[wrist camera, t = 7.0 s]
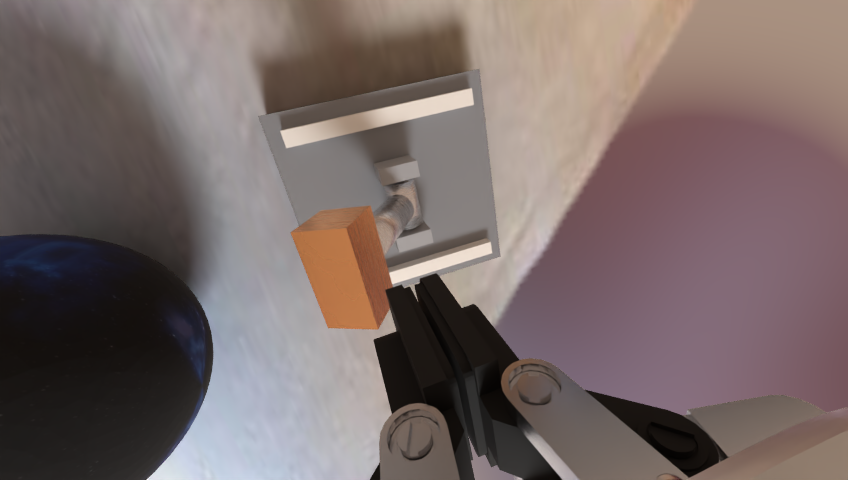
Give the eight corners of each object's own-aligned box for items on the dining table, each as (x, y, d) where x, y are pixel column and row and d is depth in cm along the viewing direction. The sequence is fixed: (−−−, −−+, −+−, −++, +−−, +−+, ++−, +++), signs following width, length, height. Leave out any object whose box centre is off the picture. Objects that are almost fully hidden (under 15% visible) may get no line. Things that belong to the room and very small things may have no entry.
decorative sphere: (24, 399, 25) (-322, 740, 12) (-69, 202, 20) (-913, 415, 6) (249, 370, 29) (183, 600, 16) (222, 199, 24) (87, 327, 10)
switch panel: (266, 114, 22) (249, 118, 17) (462, 72, 25) (497, 65, 20) (330, 289, 28) (331, 330, 23) (485, 242, 31) (516, 270, 26)
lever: (382, 165, 23) (290, 232, 14) (418, 160, 22) (345, 228, 13) (398, 232, 25) (328, 327, 16) (432, 229, 24) (378, 329, 15)
